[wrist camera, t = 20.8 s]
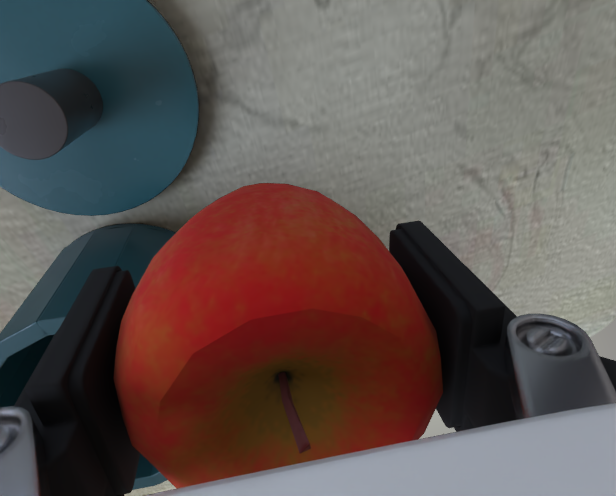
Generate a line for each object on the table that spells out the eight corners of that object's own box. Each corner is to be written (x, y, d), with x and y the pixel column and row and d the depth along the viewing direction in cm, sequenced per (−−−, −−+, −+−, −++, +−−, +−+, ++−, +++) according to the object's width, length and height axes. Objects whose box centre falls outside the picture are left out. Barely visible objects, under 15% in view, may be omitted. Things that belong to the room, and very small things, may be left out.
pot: (-31, 243, 25) (-160, 351, 17) (255, 206, 27) (267, 286, 19) (39, 386, 30) (-33, 522, 22) (275, 346, 32) (291, 459, 24)
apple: (125, 284, 13) (28, 528, 7) (213, 104, 12) (196, 203, 5) (298, 348, 16) (350, 579, 9) (396, 206, 14) (550, 367, 7)
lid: (-115, -35, 19) (-264, -61, 13) (171, -54, 21) (149, -85, 15) (-1, 222, 25) (-70, 281, 19) (217, 194, 26) (214, 241, 20)
